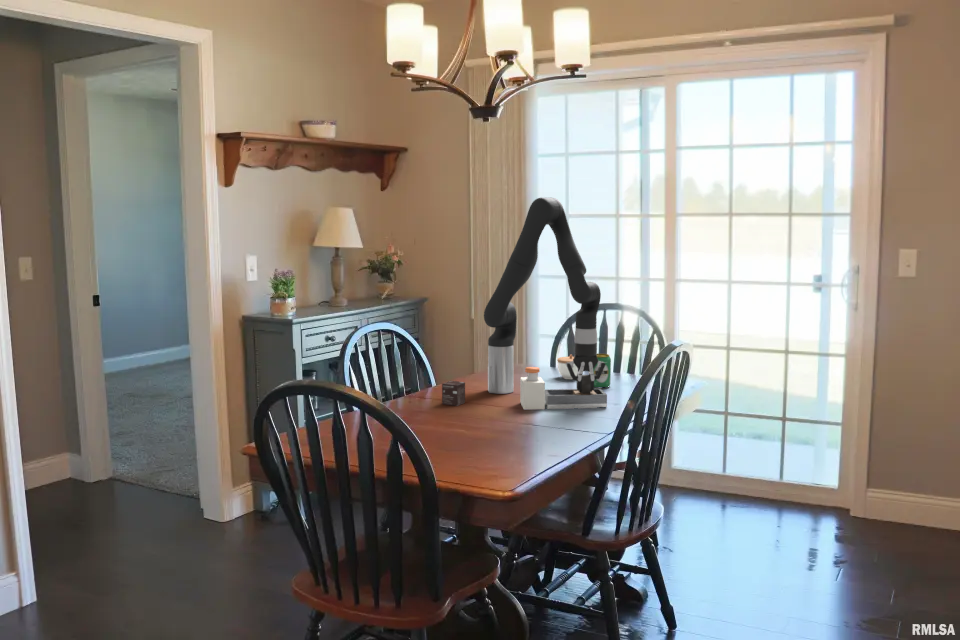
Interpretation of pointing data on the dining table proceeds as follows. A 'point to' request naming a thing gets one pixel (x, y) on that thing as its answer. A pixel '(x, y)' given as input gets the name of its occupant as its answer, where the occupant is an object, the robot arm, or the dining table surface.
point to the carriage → (585, 386)
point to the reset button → (532, 373)
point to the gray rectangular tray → (574, 399)
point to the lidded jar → (563, 368)
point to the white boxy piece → (532, 393)
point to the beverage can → (606, 374)
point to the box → (453, 393)
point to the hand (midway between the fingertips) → (585, 391)
